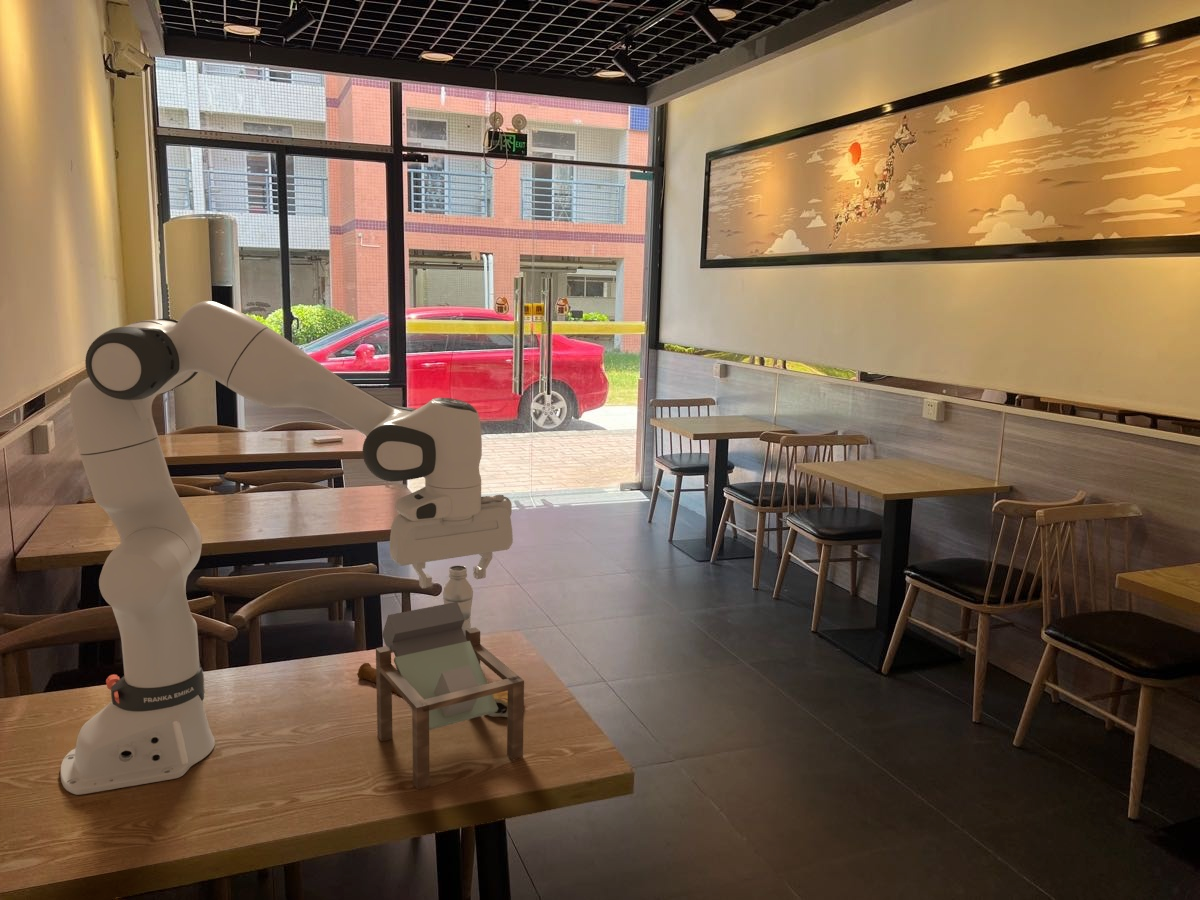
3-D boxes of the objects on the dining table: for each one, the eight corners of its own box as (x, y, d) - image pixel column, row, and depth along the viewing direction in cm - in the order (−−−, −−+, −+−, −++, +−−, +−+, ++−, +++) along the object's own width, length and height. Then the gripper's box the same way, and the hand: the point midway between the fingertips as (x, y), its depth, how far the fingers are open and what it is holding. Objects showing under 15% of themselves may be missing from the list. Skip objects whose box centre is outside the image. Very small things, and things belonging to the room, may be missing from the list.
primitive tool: (443, 698, 167) (442, 681, 166) (424, 710, 162) (424, 693, 162) (368, 674, 176) (367, 658, 175) (348, 685, 171) (348, 669, 171)
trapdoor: (416, 740, 142) (423, 721, 139) (379, 635, 154) (385, 615, 150) (493, 719, 150) (502, 701, 146) (452, 620, 162) (459, 601, 158)
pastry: (496, 693, 169) (496, 675, 168) (529, 698, 168) (529, 679, 167) (480, 716, 160) (481, 697, 159) (516, 721, 159) (516, 702, 158)
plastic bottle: (472, 650, 188) (472, 562, 184) (474, 663, 182) (474, 572, 178) (442, 651, 187) (441, 563, 183) (443, 665, 180) (442, 574, 176)
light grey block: (434, 691, 146) (441, 671, 142) (461, 685, 149) (469, 665, 145) (444, 717, 143) (452, 697, 139) (471, 710, 146) (480, 690, 142)
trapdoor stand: (417, 789, 136) (416, 692, 133) (377, 736, 152) (375, 648, 149) (522, 757, 147) (524, 666, 143) (475, 710, 162) (475, 627, 159)
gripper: (502, 489, 146) (501, 567, 149) (385, 502, 135) (386, 586, 138) (520, 497, 141) (518, 578, 144) (399, 511, 130) (400, 598, 133)
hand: (452, 582), depth 141 cm, fingers open, 8 cm apart
